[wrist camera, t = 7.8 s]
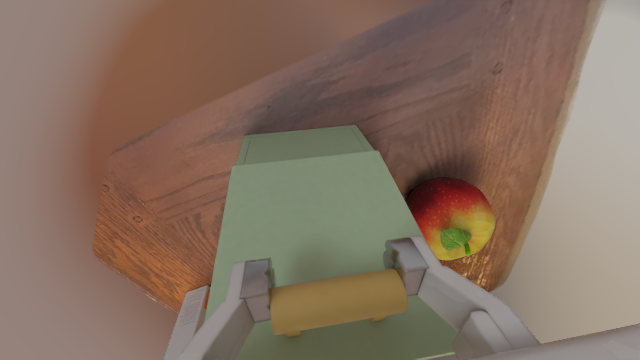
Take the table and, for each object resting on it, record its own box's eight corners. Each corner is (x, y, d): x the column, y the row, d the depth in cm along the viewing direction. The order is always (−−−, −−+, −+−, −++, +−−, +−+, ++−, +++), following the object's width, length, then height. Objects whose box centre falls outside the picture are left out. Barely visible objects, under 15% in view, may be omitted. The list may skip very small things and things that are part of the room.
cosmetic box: (227, 300, 42) (212, 384, 32) (206, 307, 43) (184, 392, 33) (208, 283, 39) (184, 371, 29) (185, 291, 39) (153, 381, 29)
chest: (351, 212, 34) (365, 249, 29) (265, 223, 33) (263, 264, 28) (355, 124, 27) (375, 151, 21) (244, 135, 25) (234, 166, 20)
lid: (474, 350, 11) (537, 324, 8) (197, 404, 10) (133, 402, 6) (376, 157, 21) (386, 110, 18) (234, 172, 20) (216, 126, 17)
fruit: (419, 231, 39) (456, 286, 31) (377, 205, 34) (408, 262, 26) (475, 188, 35) (534, 238, 27) (436, 151, 30) (493, 199, 22)
